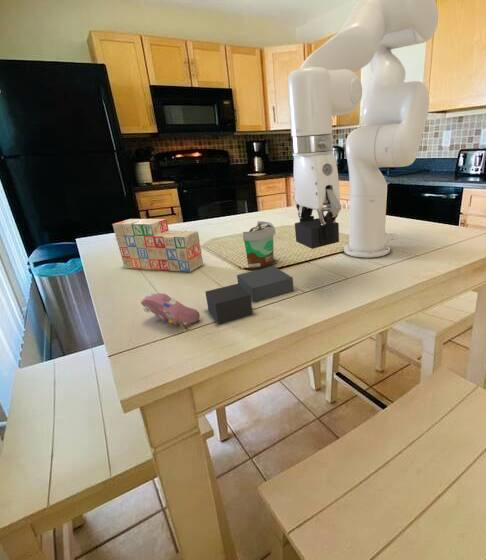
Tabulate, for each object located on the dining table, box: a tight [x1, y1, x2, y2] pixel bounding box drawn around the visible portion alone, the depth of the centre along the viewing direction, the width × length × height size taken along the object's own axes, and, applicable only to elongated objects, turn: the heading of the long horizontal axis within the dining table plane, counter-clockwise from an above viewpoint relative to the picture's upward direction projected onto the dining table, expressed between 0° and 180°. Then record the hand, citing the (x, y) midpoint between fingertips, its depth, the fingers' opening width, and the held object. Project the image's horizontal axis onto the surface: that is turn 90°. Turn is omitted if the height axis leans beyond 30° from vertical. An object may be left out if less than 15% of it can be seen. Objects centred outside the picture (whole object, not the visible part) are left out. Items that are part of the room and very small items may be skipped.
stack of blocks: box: [111, 218, 204, 273], centre depth 88 cm, size 21×6×12 cm, turn 72°
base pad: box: [236, 265, 294, 302], centre depth 72 cm, size 9×9×3 cm
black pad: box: [204, 283, 254, 325], centre depth 62 cm, size 6×6×4 cm
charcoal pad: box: [294, 217, 340, 250], centre depth 69 cm, size 6×6×4 cm
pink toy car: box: [140, 292, 201, 326], centre depth 60 cm, size 10×5×7 cm, turn 56°
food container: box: [242, 220, 277, 271], centre depth 86 cm, size 12×6×10 cm, turn 168°
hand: (317, 238), depth 69 cm, fingers closed on charcoal pad, 6 cm apart
